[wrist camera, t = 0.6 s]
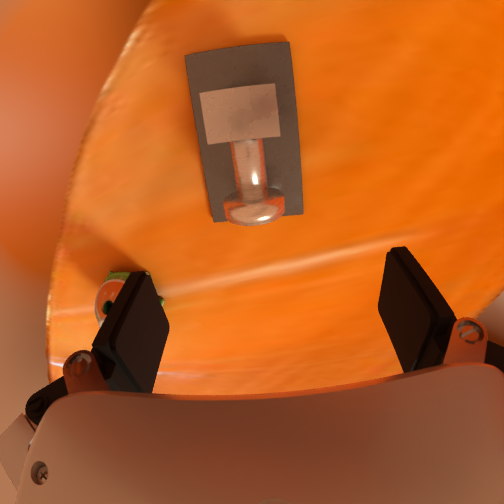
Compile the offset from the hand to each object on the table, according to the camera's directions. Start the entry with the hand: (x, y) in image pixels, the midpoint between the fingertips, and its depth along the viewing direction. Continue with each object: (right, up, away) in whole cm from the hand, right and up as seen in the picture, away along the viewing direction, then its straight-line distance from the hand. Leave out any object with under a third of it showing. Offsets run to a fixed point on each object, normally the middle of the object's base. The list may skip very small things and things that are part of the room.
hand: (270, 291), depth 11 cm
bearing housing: (-1, +18, +27) cm, 33 cm away
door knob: (-1, +15, +27) cm, 31 cm away
